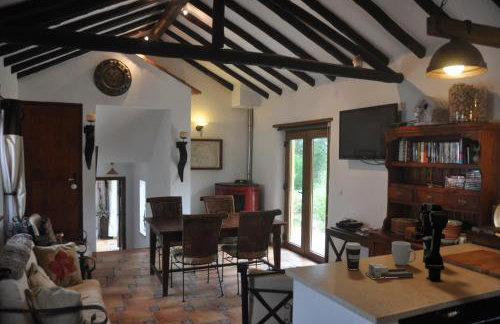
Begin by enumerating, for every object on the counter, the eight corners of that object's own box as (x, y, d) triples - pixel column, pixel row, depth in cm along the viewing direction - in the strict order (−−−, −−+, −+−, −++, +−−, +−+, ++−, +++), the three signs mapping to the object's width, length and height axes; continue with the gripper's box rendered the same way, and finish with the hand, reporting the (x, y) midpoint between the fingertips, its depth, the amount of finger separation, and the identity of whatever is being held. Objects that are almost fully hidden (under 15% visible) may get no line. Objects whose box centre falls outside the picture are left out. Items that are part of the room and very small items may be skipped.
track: (413, 277, 221) (413, 266, 221) (372, 279, 218) (372, 268, 217) (404, 272, 230) (404, 261, 230) (365, 274, 227) (365, 263, 226)
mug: (419, 265, 243) (420, 244, 243) (411, 269, 236) (412, 247, 235) (396, 260, 254) (396, 240, 254) (388, 263, 247) (388, 243, 246)
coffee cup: (343, 269, 235) (343, 244, 235) (347, 265, 244) (347, 241, 243) (359, 272, 231) (359, 246, 230) (362, 267, 239) (362, 243, 239)
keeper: (388, 275, 220) (388, 267, 220) (379, 275, 220) (379, 267, 220) (383, 272, 226) (383, 264, 226) (374, 272, 226) (375, 264, 226)
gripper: (434, 221, 241) (434, 246, 242) (406, 222, 239) (405, 247, 239) (446, 224, 230) (445, 251, 231) (416, 225, 228) (416, 252, 228)
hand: (427, 250), depth 232 cm, fingers closed
